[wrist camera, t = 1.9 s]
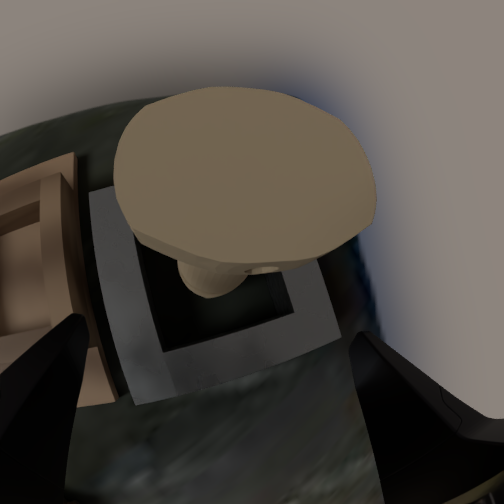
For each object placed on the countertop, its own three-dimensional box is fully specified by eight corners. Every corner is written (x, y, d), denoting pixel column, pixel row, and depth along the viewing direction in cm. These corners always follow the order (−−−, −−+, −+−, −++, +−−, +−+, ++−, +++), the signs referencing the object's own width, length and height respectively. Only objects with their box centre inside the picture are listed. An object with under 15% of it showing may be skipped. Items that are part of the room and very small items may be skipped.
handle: (161, 246, 20) (129, 88, 6) (246, 243, 21) (347, 104, 7) (165, 312, 19) (105, 270, 5) (252, 305, 20) (393, 254, 6)
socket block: (318, 336, 21) (341, 337, 17) (143, 392, 17) (135, 405, 13) (264, 177, 23) (277, 155, 20) (101, 212, 19) (88, 192, 16)
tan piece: (119, 397, 16) (104, 413, 12) (7, 409, 13) (-19, 419, 9) (77, 159, 20) (63, 130, 16) (-17, 197, 16) (-39, 178, 12)
